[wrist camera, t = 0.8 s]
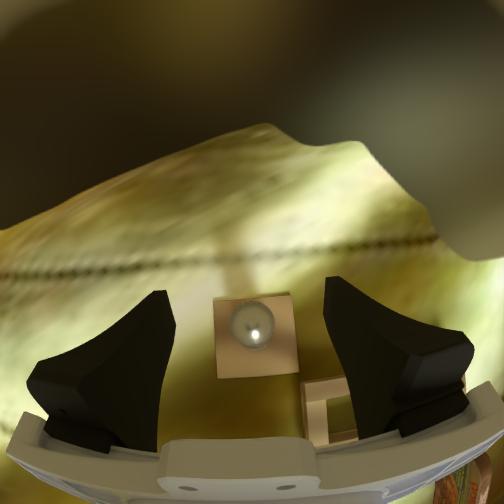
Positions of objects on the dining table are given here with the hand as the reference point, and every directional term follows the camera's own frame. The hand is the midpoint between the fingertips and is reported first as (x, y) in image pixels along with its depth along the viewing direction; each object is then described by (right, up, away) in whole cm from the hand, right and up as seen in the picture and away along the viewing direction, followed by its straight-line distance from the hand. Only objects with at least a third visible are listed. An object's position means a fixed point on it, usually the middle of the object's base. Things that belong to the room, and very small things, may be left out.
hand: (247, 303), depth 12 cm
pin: (+1, -6, +14) cm, 16 cm away
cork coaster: (+1, -6, +15) cm, 16 cm away
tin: (+24, -27, +5) cm, 37 cm away
